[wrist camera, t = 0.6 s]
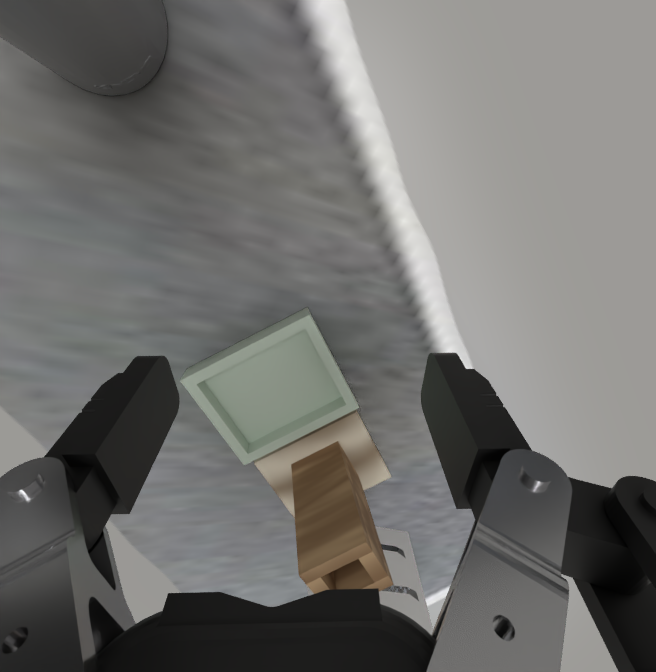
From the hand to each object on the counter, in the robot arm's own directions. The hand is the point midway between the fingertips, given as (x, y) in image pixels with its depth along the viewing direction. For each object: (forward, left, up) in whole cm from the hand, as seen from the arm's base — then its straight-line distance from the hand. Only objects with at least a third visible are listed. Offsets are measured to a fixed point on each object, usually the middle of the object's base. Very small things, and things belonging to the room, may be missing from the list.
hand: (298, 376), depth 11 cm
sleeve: (+21, -6, -20) cm, 30 cm away
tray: (+10, -6, -22) cm, 25 cm away
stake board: (+21, -6, -22) cm, 31 cm away
